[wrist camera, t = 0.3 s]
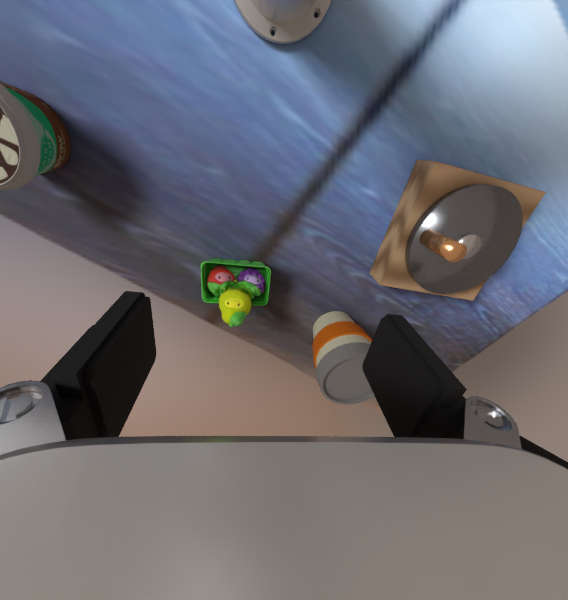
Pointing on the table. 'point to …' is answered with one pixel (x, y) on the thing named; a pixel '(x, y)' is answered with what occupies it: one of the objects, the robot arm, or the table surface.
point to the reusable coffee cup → (341, 358)
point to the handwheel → (463, 238)
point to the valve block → (416, 200)
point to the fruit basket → (235, 287)
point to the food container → (29, 138)
